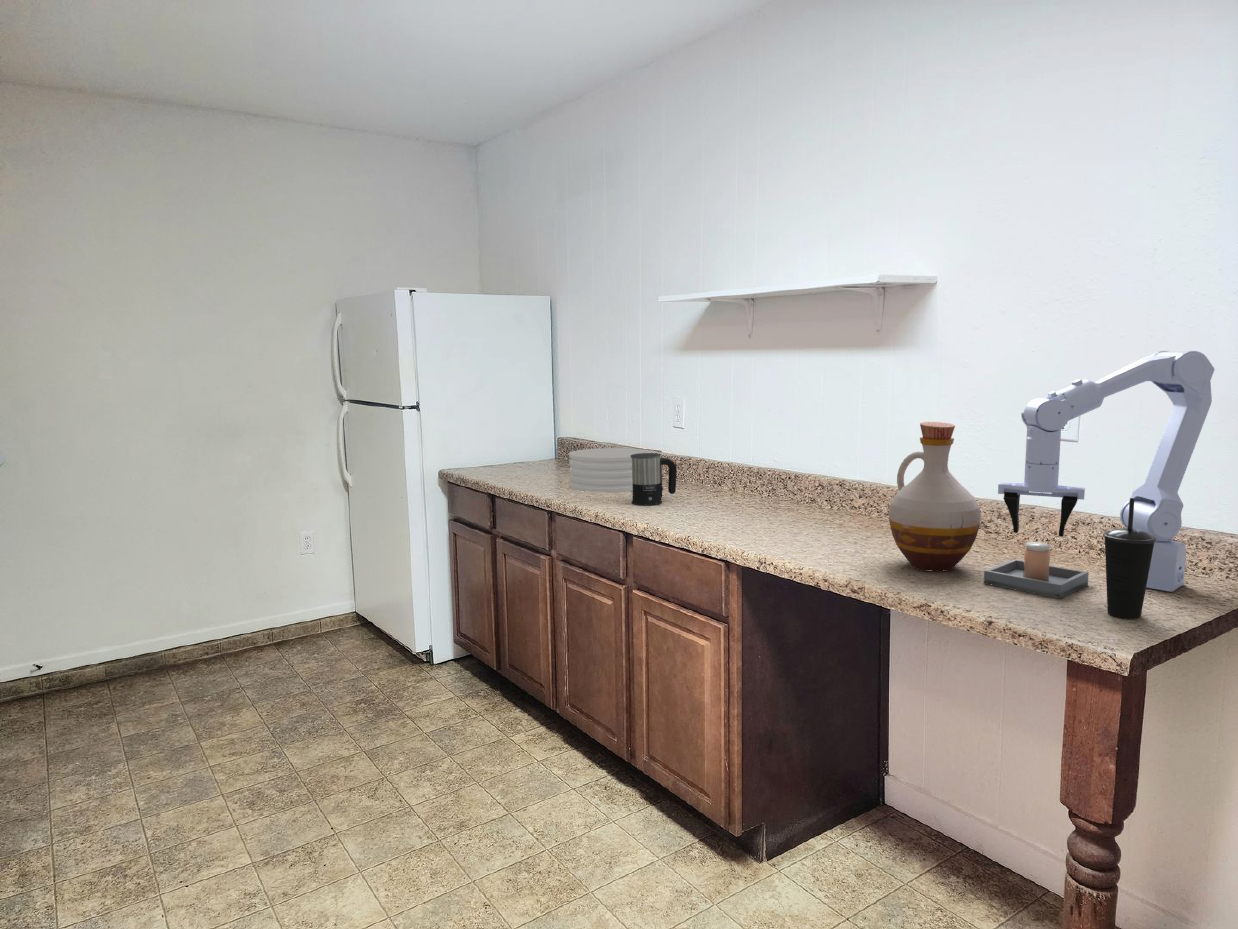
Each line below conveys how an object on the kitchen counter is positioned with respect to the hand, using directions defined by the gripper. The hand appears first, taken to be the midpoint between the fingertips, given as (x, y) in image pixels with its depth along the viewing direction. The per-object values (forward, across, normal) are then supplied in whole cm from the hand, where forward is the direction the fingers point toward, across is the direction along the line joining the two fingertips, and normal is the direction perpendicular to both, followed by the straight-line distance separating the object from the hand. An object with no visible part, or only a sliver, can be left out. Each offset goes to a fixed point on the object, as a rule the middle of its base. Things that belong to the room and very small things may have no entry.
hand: (1038, 533), depth 159 cm
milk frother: (+10, +110, -46) cm, 120 cm away
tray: (+10, 0, 0) cm, 10 cm away
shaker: (+9, 0, 0) cm, 9 cm away
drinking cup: (+10, -14, +14) cm, 22 cm away
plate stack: (+10, +136, -66) cm, 152 cm away
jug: (+10, +20, -5) cm, 23 cm away
